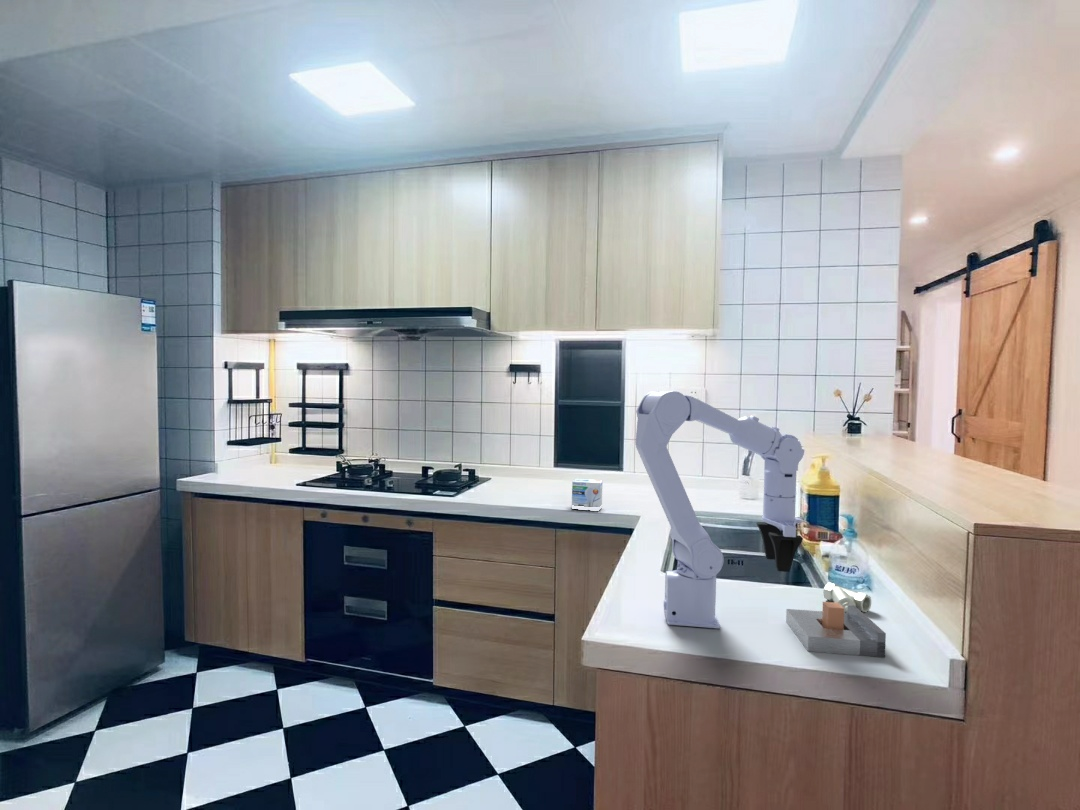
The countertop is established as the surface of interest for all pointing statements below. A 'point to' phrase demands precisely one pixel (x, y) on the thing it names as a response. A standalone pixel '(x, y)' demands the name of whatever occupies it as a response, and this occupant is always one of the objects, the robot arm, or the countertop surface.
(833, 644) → the grey square base
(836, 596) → the pipe fitting
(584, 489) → the light bulb box
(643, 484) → the countertop surface
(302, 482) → the countertop surface
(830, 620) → the pin
